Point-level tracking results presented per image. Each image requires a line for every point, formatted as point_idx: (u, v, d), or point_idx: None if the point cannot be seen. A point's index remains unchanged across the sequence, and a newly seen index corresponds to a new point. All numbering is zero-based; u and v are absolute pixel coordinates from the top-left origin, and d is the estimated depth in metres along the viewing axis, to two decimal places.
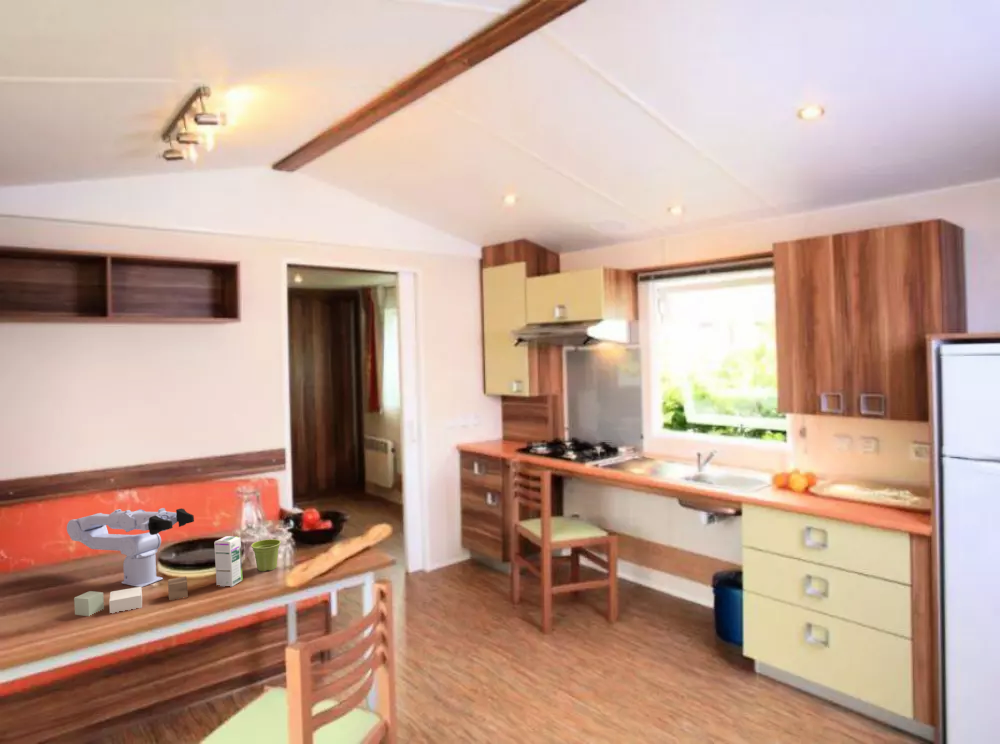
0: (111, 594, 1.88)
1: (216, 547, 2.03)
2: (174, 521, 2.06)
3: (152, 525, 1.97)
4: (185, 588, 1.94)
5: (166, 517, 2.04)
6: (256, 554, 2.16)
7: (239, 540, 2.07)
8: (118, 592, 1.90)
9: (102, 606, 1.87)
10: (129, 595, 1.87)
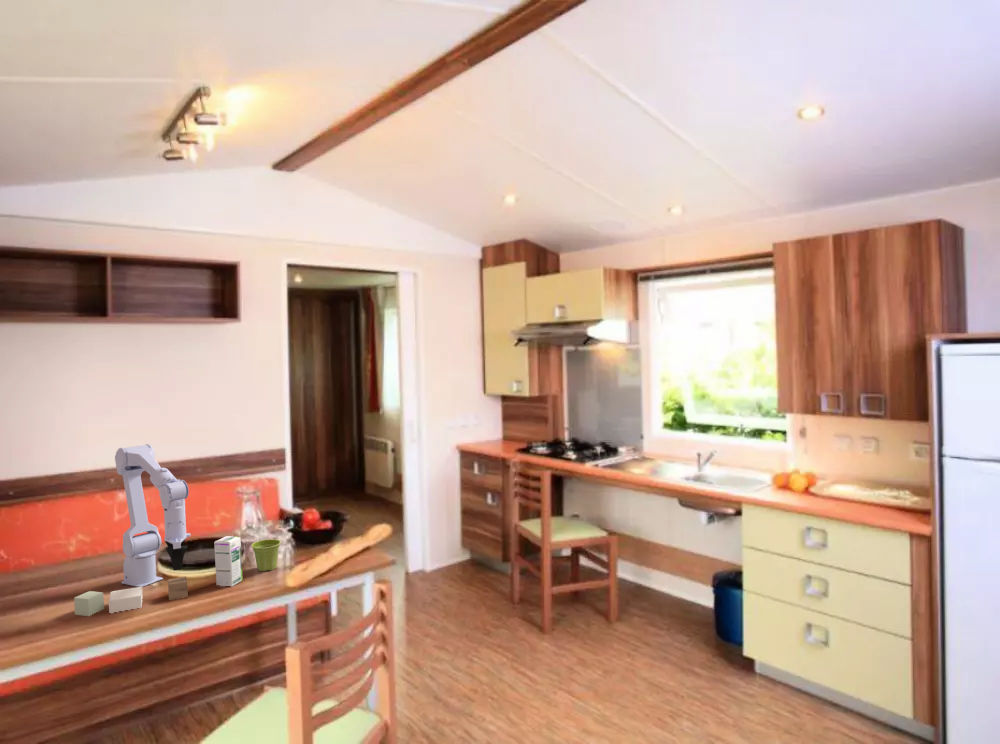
0: (111, 594, 1.89)
1: (216, 547, 2.03)
2: None
3: None
4: (185, 588, 1.94)
5: None
6: (256, 554, 2.16)
7: (239, 540, 2.07)
8: (118, 592, 1.90)
9: (102, 606, 1.87)
10: (128, 596, 1.87)
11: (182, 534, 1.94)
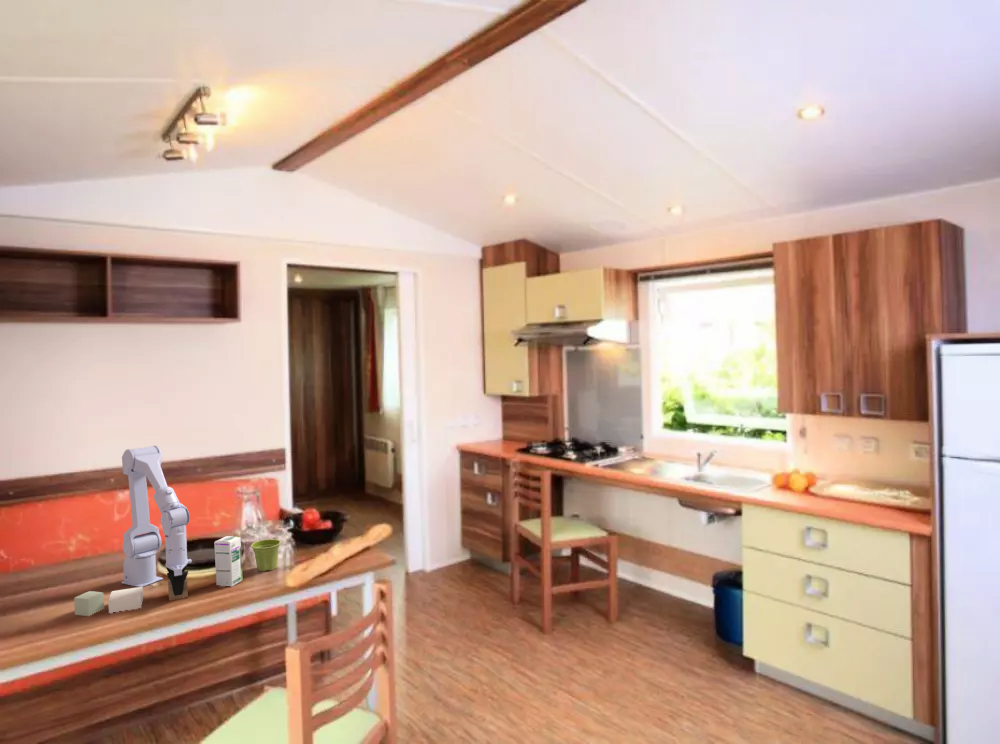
0: (111, 594, 1.89)
1: (216, 547, 2.03)
2: None
3: None
4: (185, 588, 1.94)
5: None
6: (256, 554, 2.16)
7: (239, 540, 2.07)
8: (119, 592, 1.90)
9: (102, 606, 1.87)
10: (128, 596, 1.87)
11: (183, 560, 1.94)
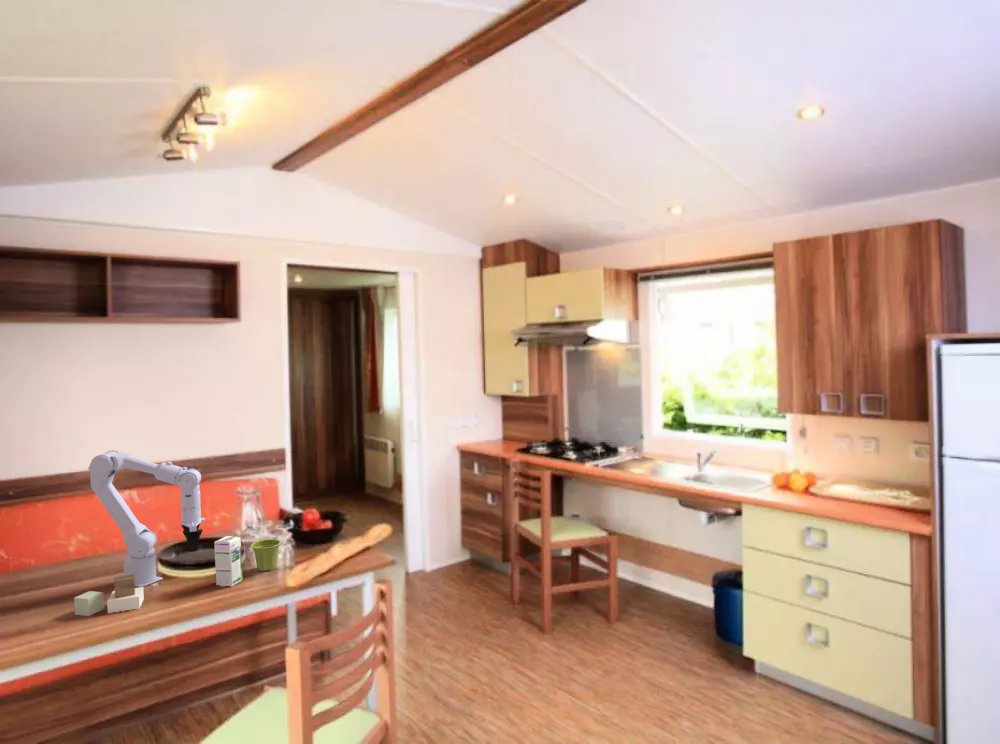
0: (112, 593, 1.89)
1: (216, 547, 2.03)
2: None
3: None
4: (132, 584, 1.88)
5: None
6: (256, 554, 2.16)
7: (239, 540, 2.07)
8: None
9: (102, 606, 1.87)
10: (127, 596, 1.87)
11: (198, 518, 2.09)
